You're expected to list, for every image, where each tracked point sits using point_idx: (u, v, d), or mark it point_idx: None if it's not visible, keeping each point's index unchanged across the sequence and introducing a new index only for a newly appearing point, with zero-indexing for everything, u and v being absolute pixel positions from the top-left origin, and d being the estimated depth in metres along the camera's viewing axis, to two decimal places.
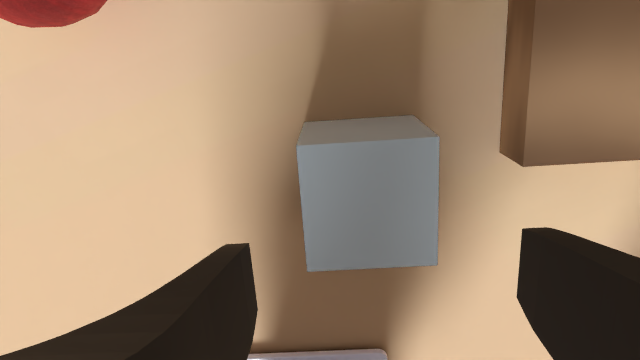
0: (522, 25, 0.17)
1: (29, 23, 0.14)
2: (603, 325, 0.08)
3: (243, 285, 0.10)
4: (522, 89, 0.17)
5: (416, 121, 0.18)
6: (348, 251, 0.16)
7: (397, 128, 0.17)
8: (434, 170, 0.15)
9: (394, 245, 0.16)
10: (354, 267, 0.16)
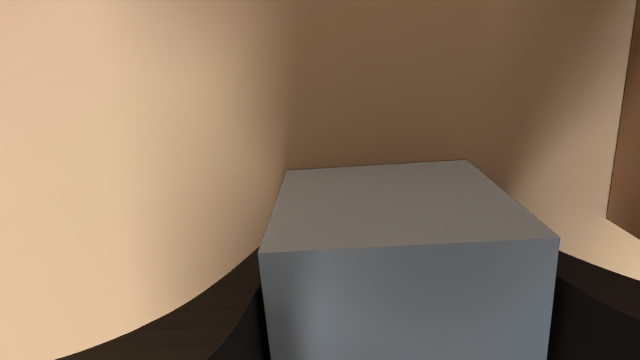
0: None
1: None
2: None
3: None
4: None
5: (482, 179, 0.10)
6: None
7: (455, 199, 0.09)
8: (544, 302, 0.07)
9: None
10: None
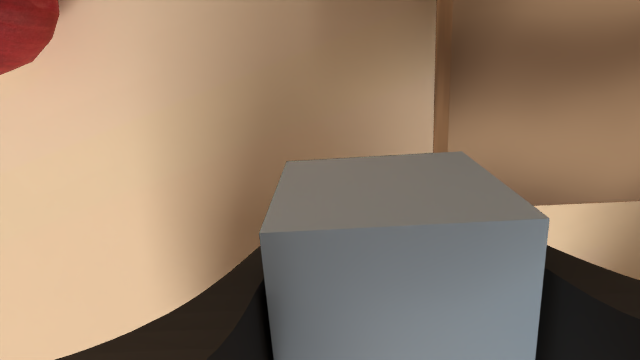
0: (443, 75, 0.17)
1: None
2: (547, 328, 0.08)
3: None
4: (444, 136, 0.18)
5: (476, 168, 0.10)
6: None
7: (449, 186, 0.09)
8: (534, 281, 0.08)
9: None
10: None
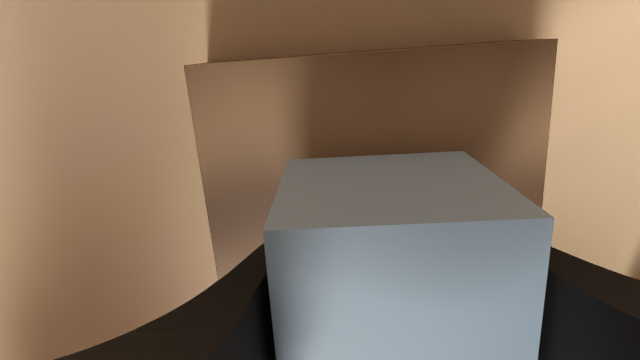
0: None
1: None
2: (548, 328, 0.08)
3: None
4: None
5: (479, 168, 0.10)
6: None
7: (452, 185, 0.09)
8: (538, 281, 0.08)
9: None
10: None
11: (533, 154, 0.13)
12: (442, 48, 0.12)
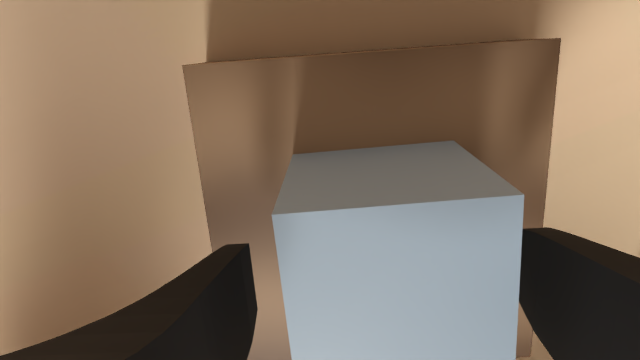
0: None
1: None
2: (603, 326, 0.08)
3: (243, 285, 0.10)
4: None
5: (465, 155, 0.11)
6: None
7: (440, 171, 0.10)
8: (513, 250, 0.09)
9: None
10: None
11: (536, 155, 0.13)
12: (444, 48, 0.12)
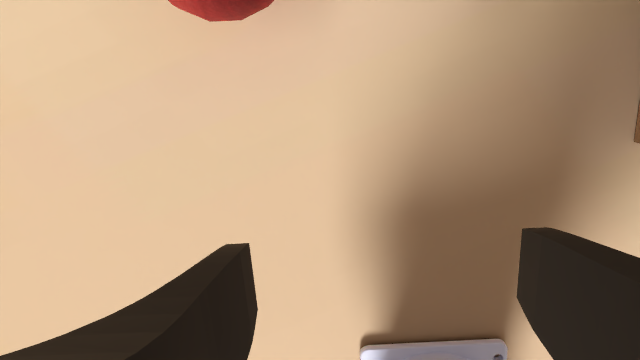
0: None
1: (217, 17, 0.15)
2: (603, 326, 0.08)
3: (243, 285, 0.10)
4: None
5: None
6: None
7: None
8: None
9: None
10: None
11: None
12: None
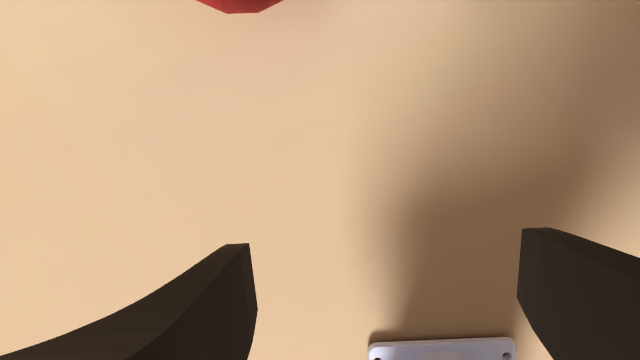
0: None
1: (235, 8, 0.15)
2: (603, 326, 0.08)
3: (243, 285, 0.10)
4: None
5: None
6: None
7: None
8: None
9: None
10: None
11: None
12: None
